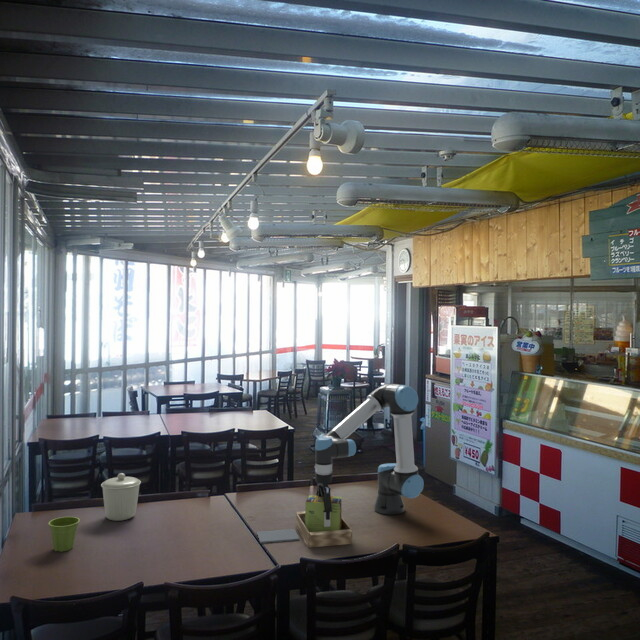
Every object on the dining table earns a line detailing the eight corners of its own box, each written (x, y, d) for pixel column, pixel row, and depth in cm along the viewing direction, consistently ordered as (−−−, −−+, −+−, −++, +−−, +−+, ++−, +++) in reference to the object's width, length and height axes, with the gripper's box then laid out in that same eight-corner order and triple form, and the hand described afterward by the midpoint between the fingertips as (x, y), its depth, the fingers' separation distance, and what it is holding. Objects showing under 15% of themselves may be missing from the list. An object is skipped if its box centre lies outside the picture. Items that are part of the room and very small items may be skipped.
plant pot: (59, 556, 228) (59, 528, 228) (41, 550, 234) (42, 522, 235) (85, 547, 238) (85, 519, 238) (68, 541, 244) (68, 514, 245)
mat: (294, 530, 259) (294, 528, 260) (299, 540, 248) (299, 538, 248) (256, 533, 255) (256, 531, 255) (260, 543, 244) (260, 541, 244)
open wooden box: (334, 521, 271) (335, 509, 271) (353, 545, 242) (354, 531, 242) (295, 525, 267) (295, 512, 267) (309, 549, 238) (309, 535, 238)
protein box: (339, 539, 248) (340, 503, 249) (304, 537, 250) (304, 501, 250) (341, 530, 259) (342, 496, 259) (308, 529, 261) (308, 494, 261)
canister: (92, 520, 270) (92, 475, 270) (118, 509, 287) (119, 467, 287) (122, 526, 263) (123, 480, 263) (148, 514, 280) (149, 470, 280)
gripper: (309, 466, 266) (309, 513, 266) (322, 480, 242) (322, 531, 242) (325, 465, 267) (324, 511, 267) (339, 479, 244) (339, 530, 244)
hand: (323, 521), depth 255 cm, fingers closed on protein box, 12 cm apart
